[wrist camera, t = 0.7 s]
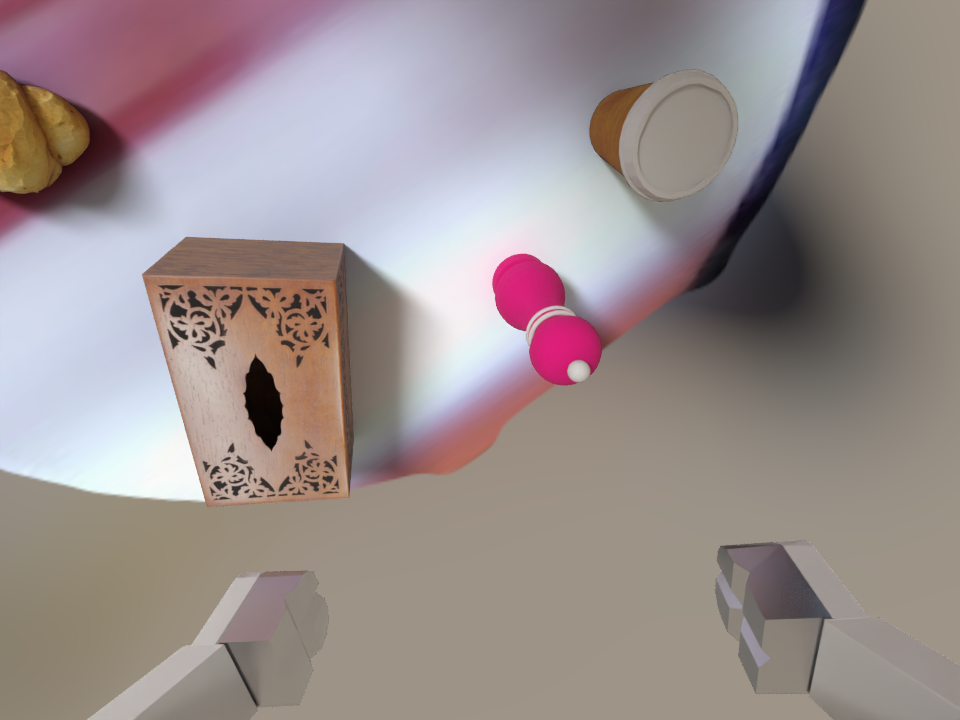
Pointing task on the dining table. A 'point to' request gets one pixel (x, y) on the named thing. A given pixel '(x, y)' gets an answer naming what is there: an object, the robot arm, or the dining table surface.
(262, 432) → the tissue box cover
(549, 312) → the pepper mill
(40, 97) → the bread roll
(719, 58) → the dining table surface
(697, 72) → the disposable coffee cup
